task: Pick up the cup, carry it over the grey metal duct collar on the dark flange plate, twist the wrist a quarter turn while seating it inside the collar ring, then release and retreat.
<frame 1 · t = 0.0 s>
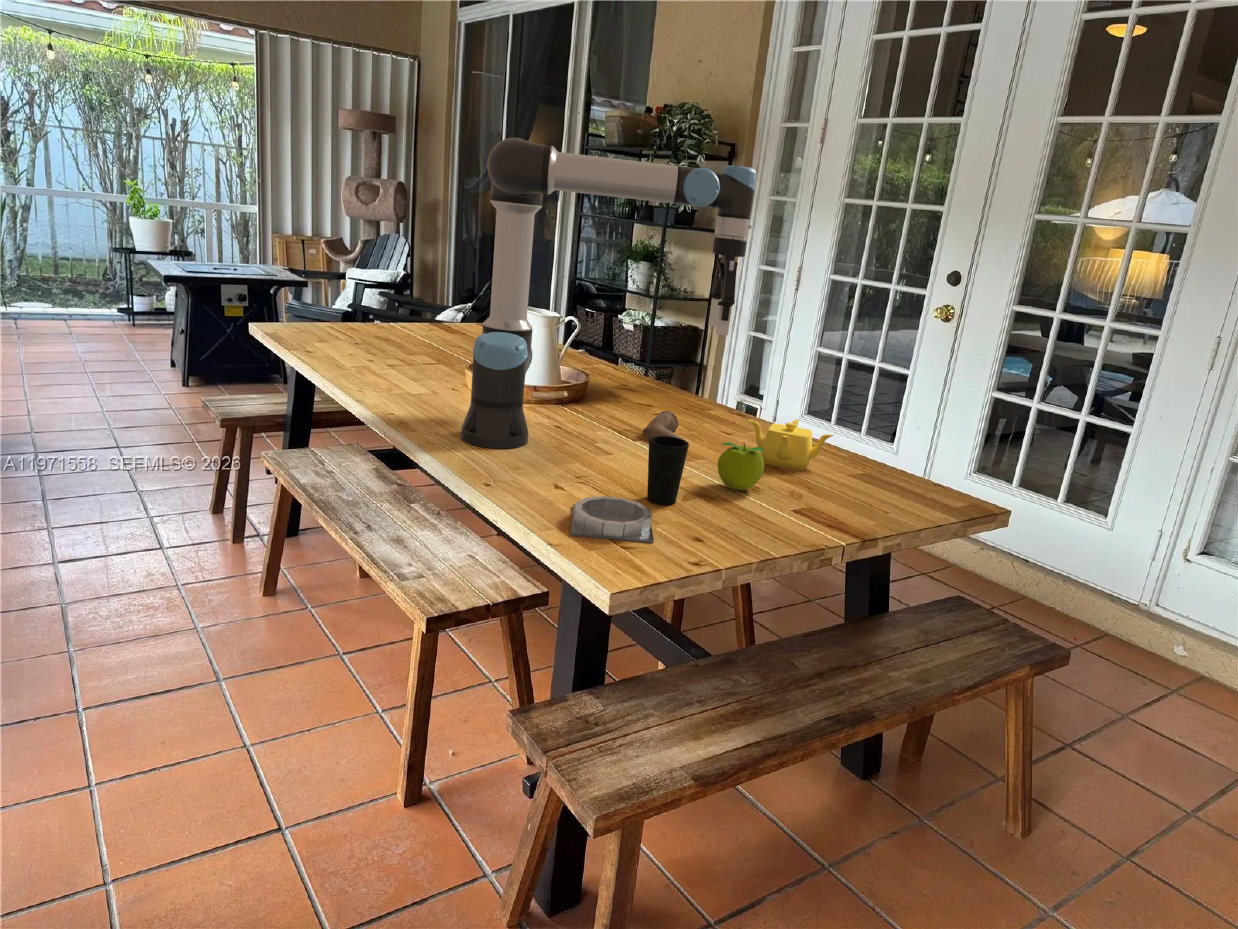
hand: (717, 330, 198), 28 cm above the table, fingers open, 13 cm apart
fruit: (737, 489, 176), on the table
duct collar: (611, 524, 149), on the table
teapot: (784, 463, 199), on the table
pipe: (668, 443, 206), on the table
cup: (661, 501, 164), on the table
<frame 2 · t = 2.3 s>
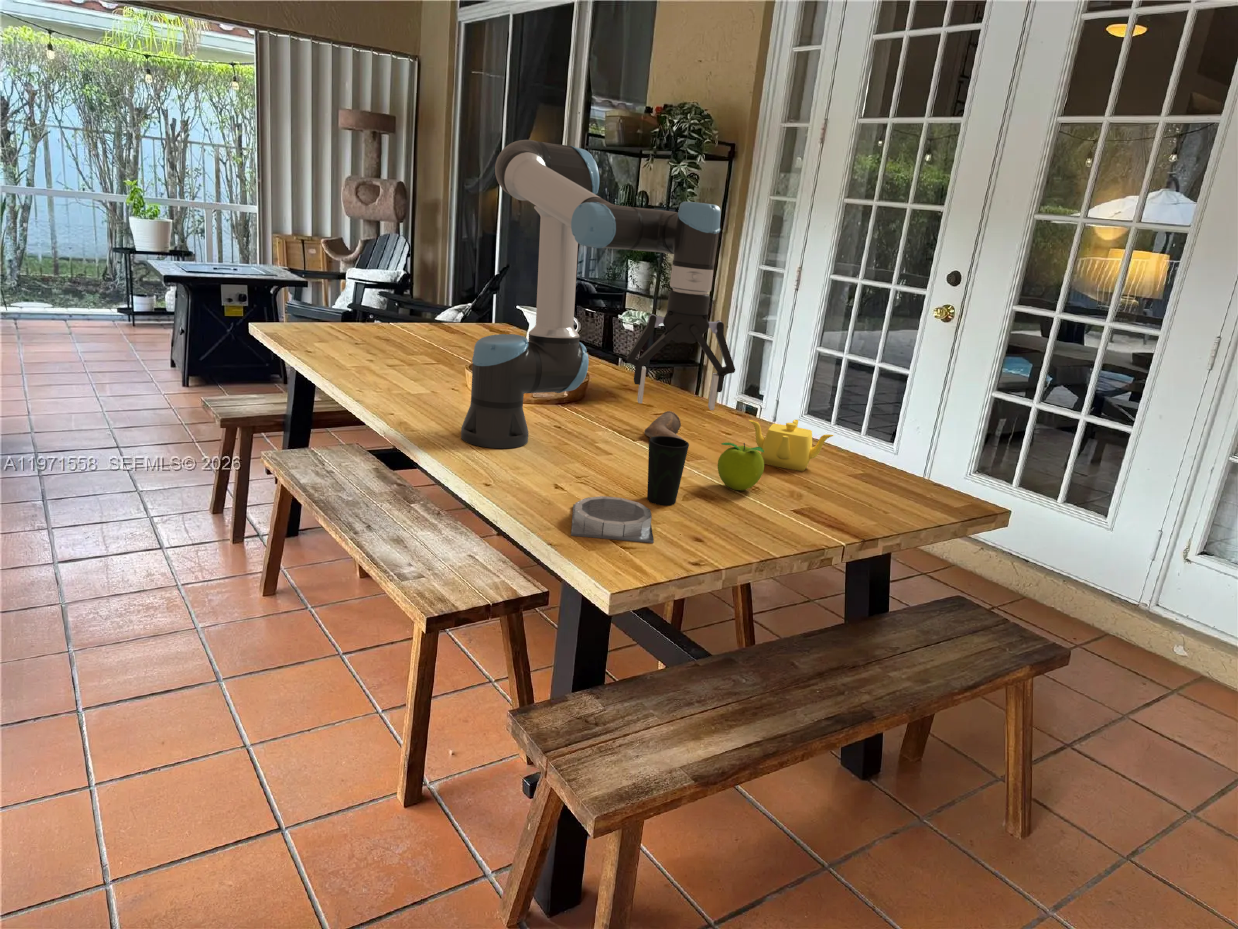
hand: (675, 405, 159), 19 cm above the table, fingers open, 13 cm apart
nothing on the table moved.
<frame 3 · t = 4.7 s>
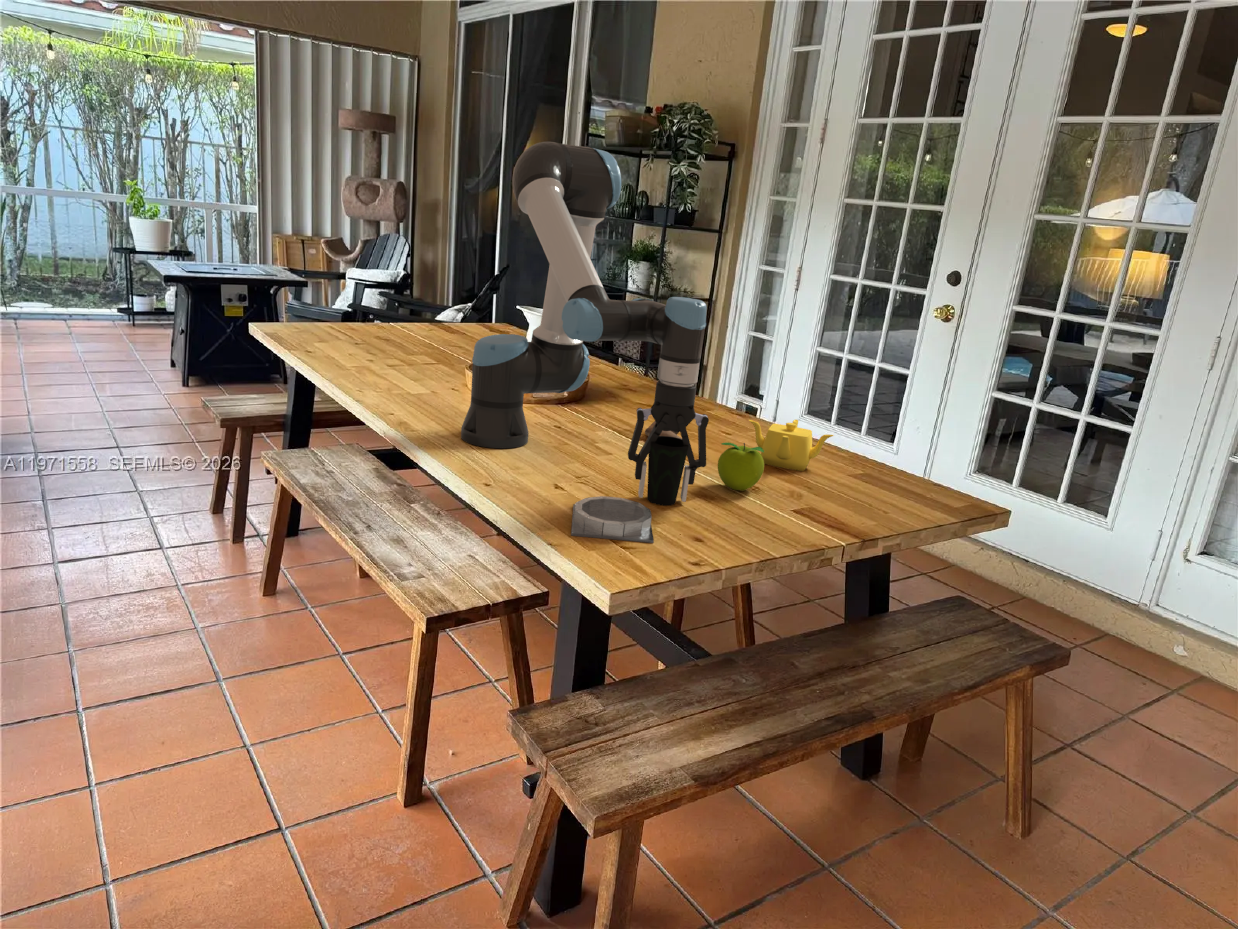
hand: (661, 497, 163), 1 cm above the table, fingers closed on cup, 8 cm apart
cup: (661, 501, 164), on the table, touching gripper
everything else where it was.
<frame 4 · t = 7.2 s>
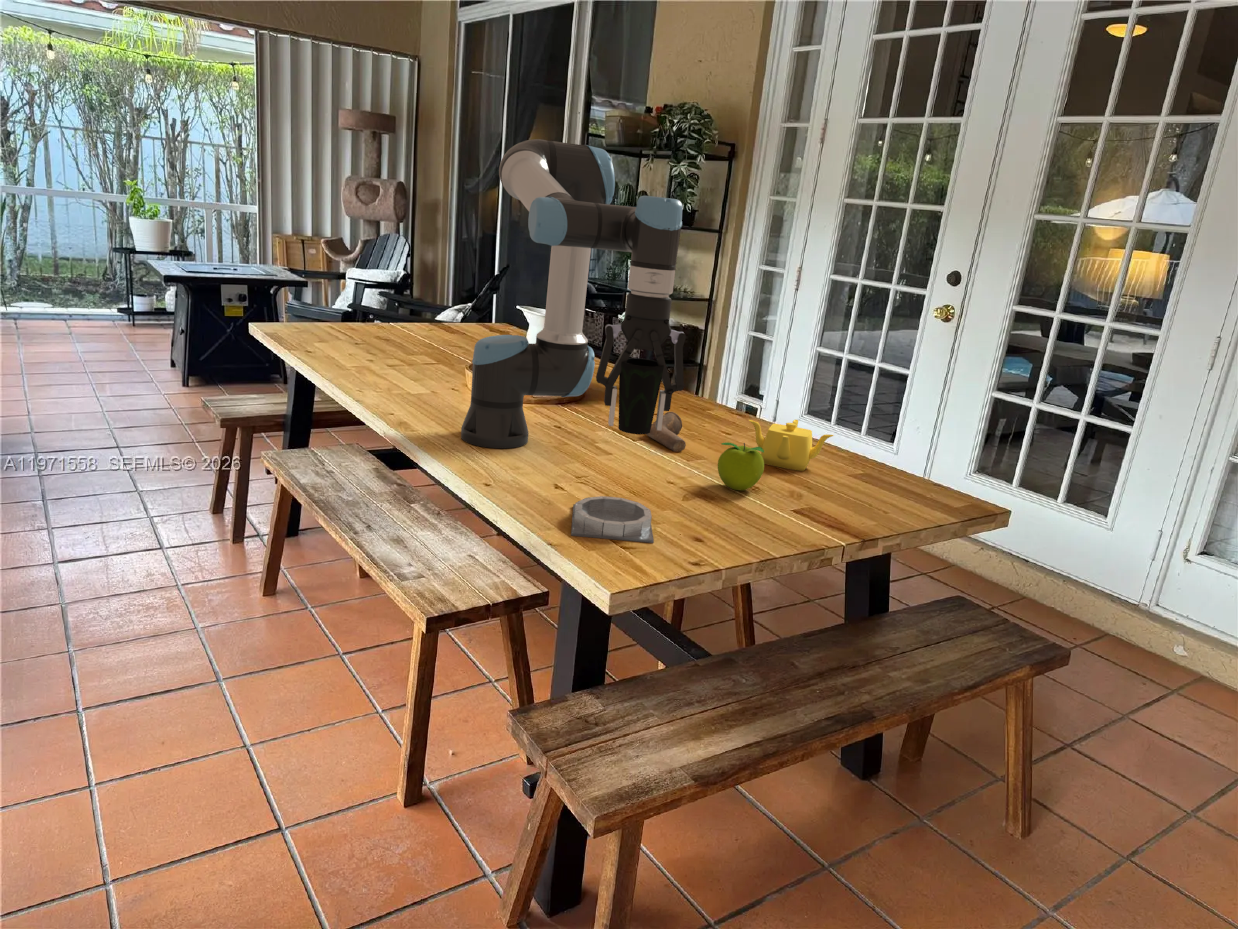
hand: (634, 426, 146), 17 cm above the table, fingers closed on cup, 8 cm apart
cup: (634, 431, 147), point 17 cm above the table, touching gripper
everything else where it was.
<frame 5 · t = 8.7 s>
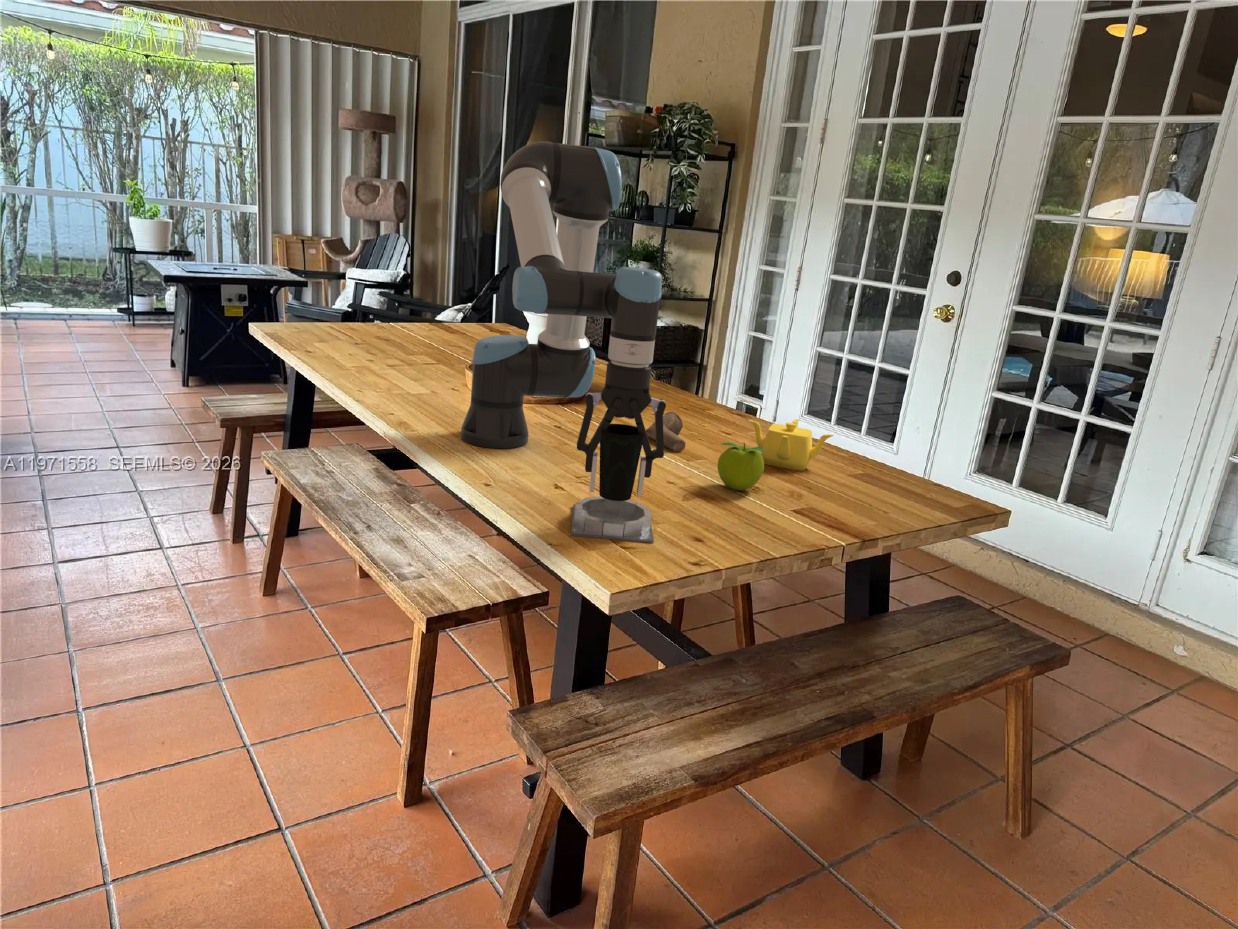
hand: (615, 491, 147), 6 cm above the table, fingers closed on cup, 8 cm apart
cup: (615, 496, 147), point 5 cm above the table, touching gripper
everything else where it was.
when the fingers open (3 cm above the table, at t = 9.7 s): cup drops 2 cm, resting on duct collar.
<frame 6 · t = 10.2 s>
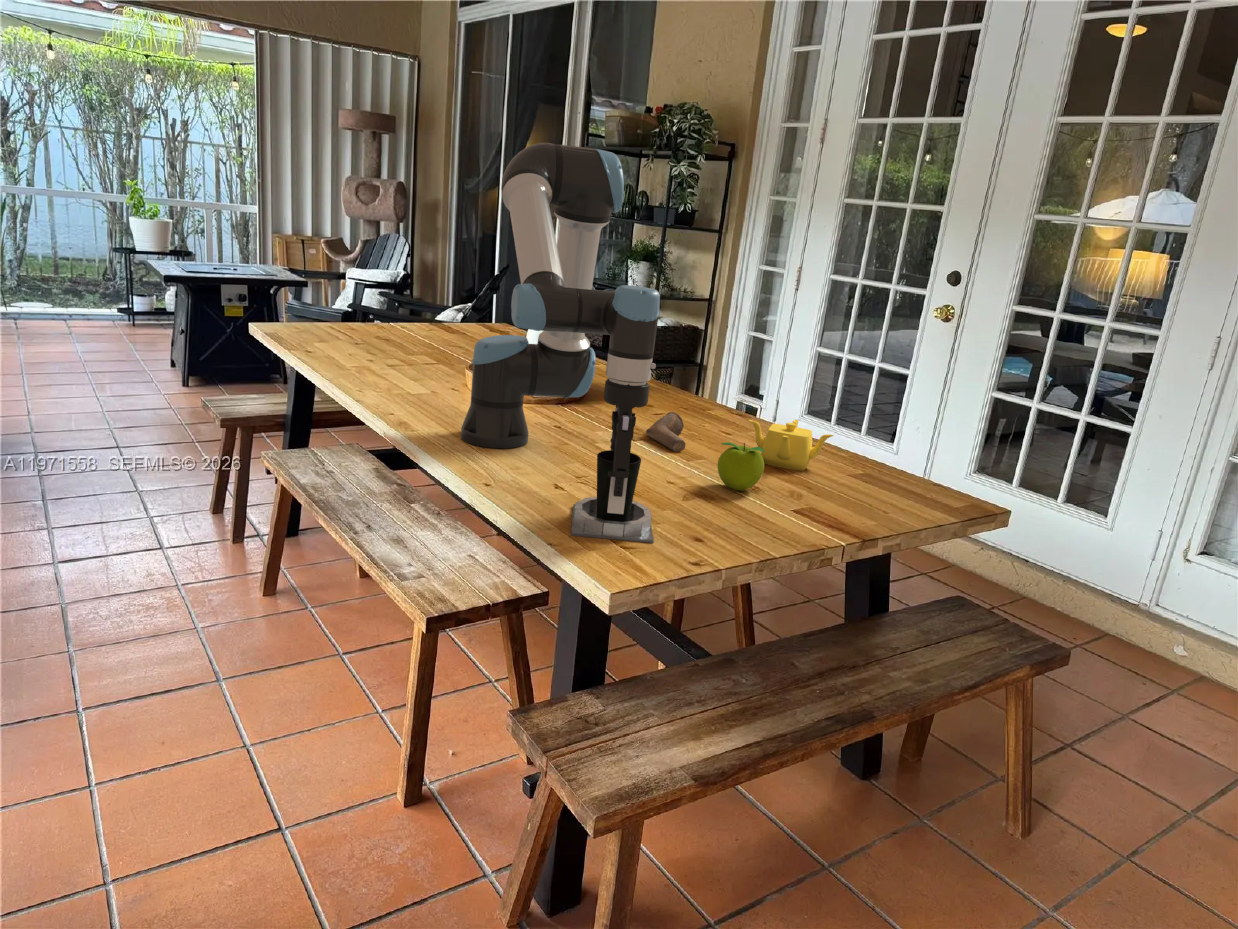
hand: (614, 499, 147), 5 cm above the table, fingers open, 13 cm apart
cup: (612, 522, 149), resting on duct collar
everything else where it was.
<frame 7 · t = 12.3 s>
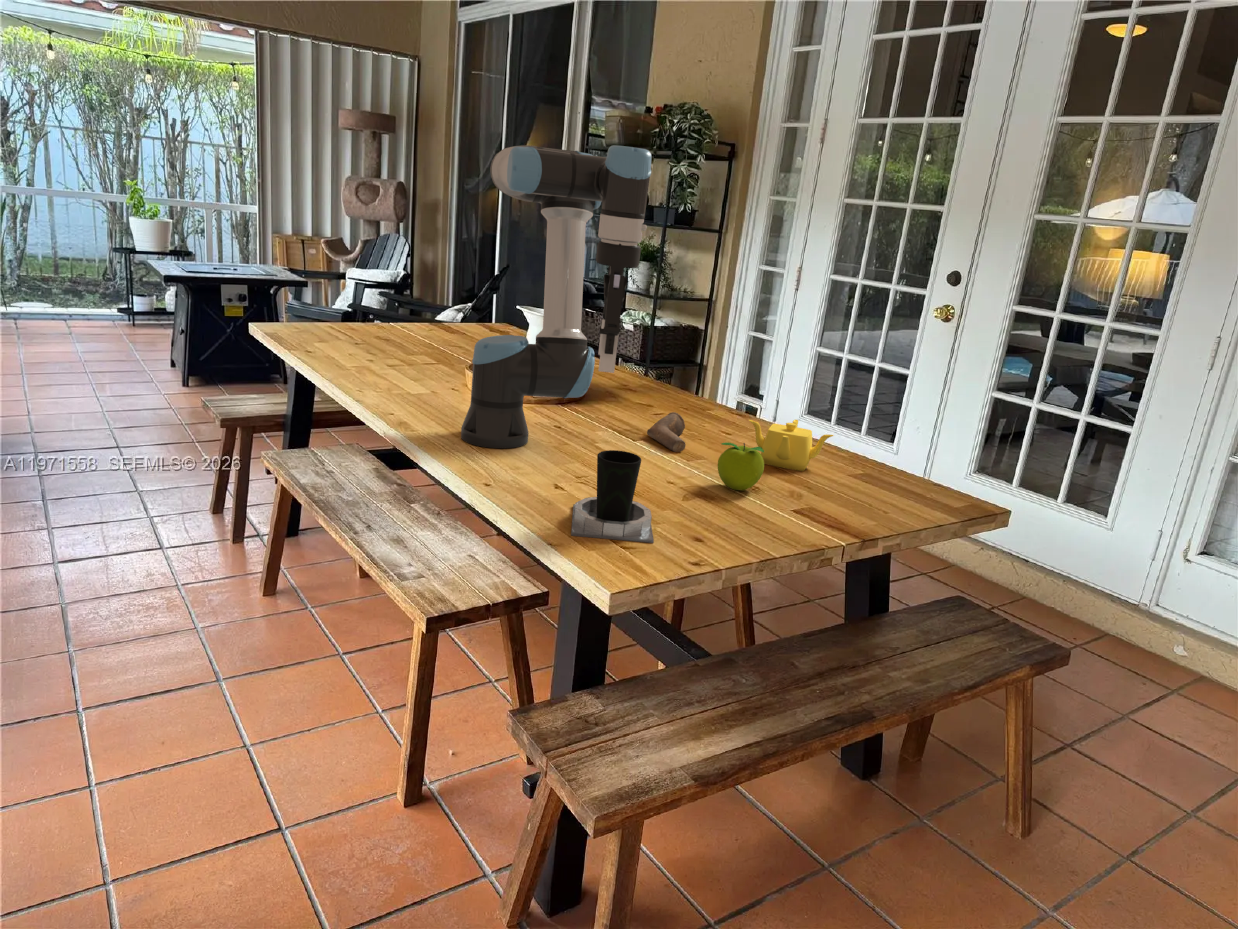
hand: (605, 363, 151), 26 cm above the table, fingers open, 13 cm apart
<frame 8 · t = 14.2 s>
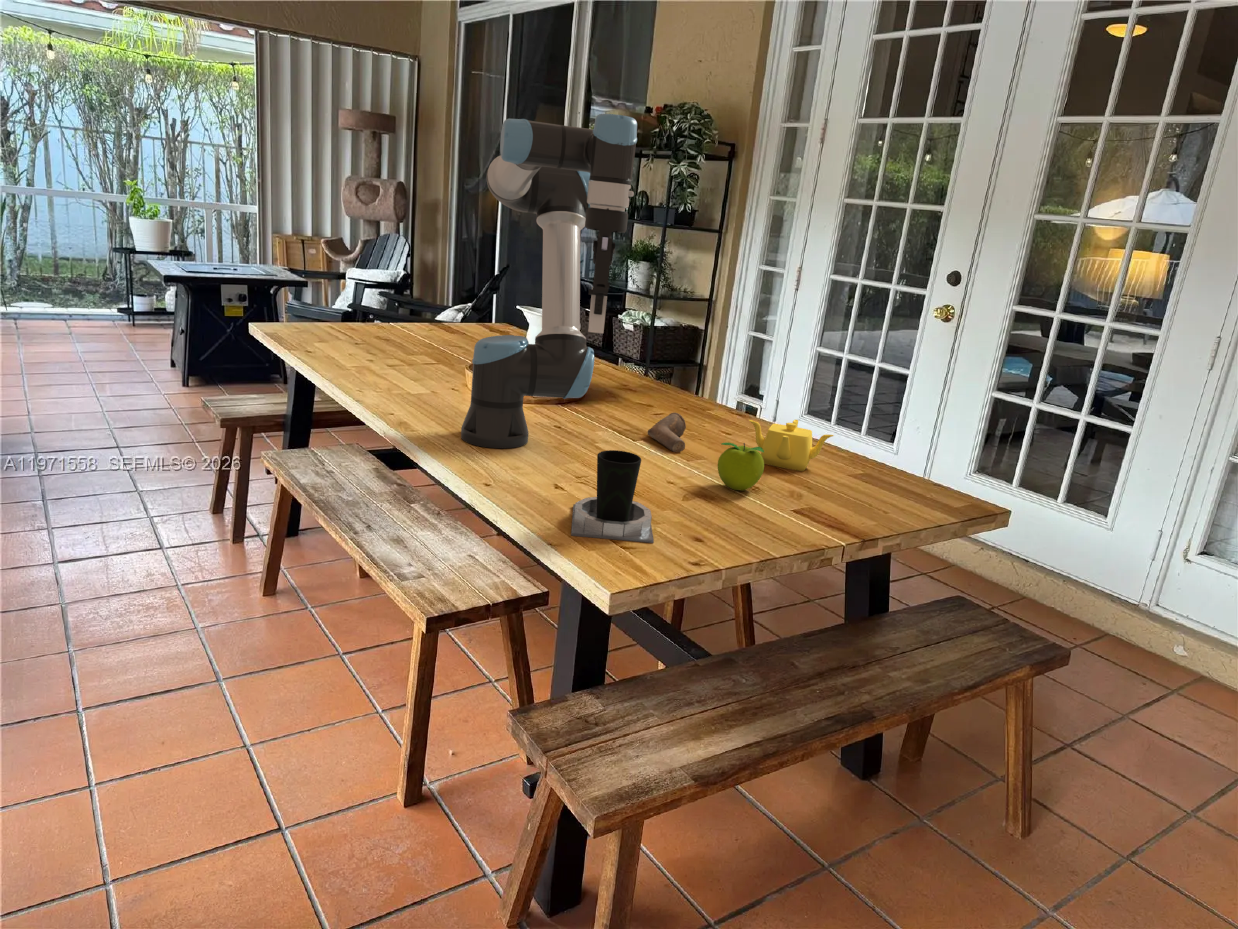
hand: (595, 327, 156), 32 cm above the table, fingers open, 13 cm apart
at the end: cup 0.1 cm from the duct collar (horizontally); cup tilted 0°; cup resting on duct collar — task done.
